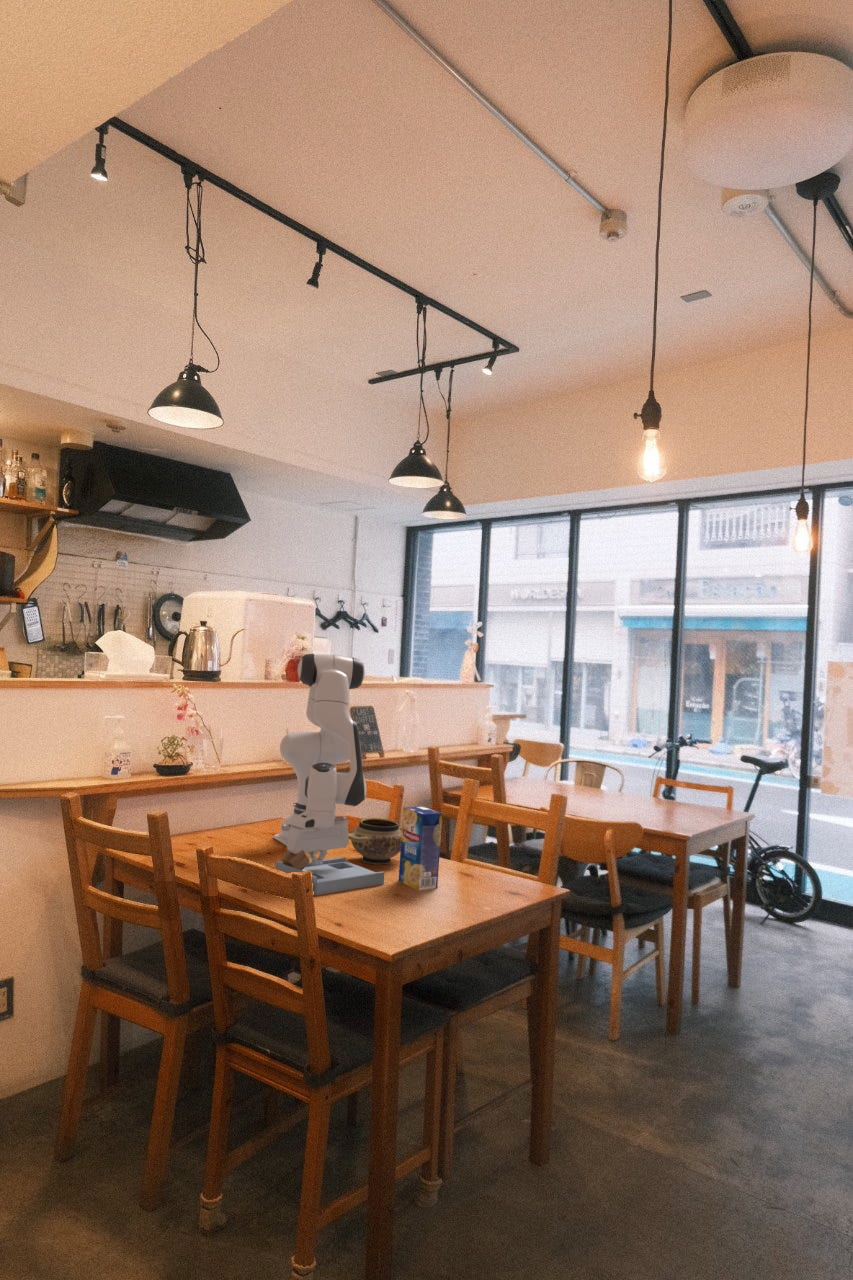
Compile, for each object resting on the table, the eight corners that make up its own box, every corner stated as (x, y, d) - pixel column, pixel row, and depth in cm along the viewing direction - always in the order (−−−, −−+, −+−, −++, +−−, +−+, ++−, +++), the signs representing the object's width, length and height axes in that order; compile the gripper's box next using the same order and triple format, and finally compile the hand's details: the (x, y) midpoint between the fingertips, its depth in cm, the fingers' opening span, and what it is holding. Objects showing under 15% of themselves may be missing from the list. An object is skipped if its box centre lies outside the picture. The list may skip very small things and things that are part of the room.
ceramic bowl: (357, 879, 259) (368, 834, 256) (327, 852, 272) (337, 810, 269) (417, 870, 275) (427, 828, 272) (385, 845, 288) (395, 805, 285)
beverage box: (417, 878, 254) (422, 806, 254) (437, 888, 245) (442, 813, 245) (398, 880, 250) (403, 807, 250) (418, 890, 241) (423, 814, 241)
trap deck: (274, 878, 243) (275, 861, 243) (343, 868, 260) (344, 852, 260) (313, 895, 228) (314, 877, 229) (383, 884, 245) (384, 867, 245)
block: (288, 869, 244) (280, 858, 241) (299, 857, 247) (291, 845, 244) (298, 874, 240) (291, 862, 238) (310, 861, 243) (302, 849, 241)
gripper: (342, 814, 257) (339, 859, 256) (285, 819, 243) (282, 866, 242) (354, 817, 252) (351, 863, 251) (297, 823, 238) (294, 871, 238)
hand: (317, 865), depth 247 cm, fingers closed
